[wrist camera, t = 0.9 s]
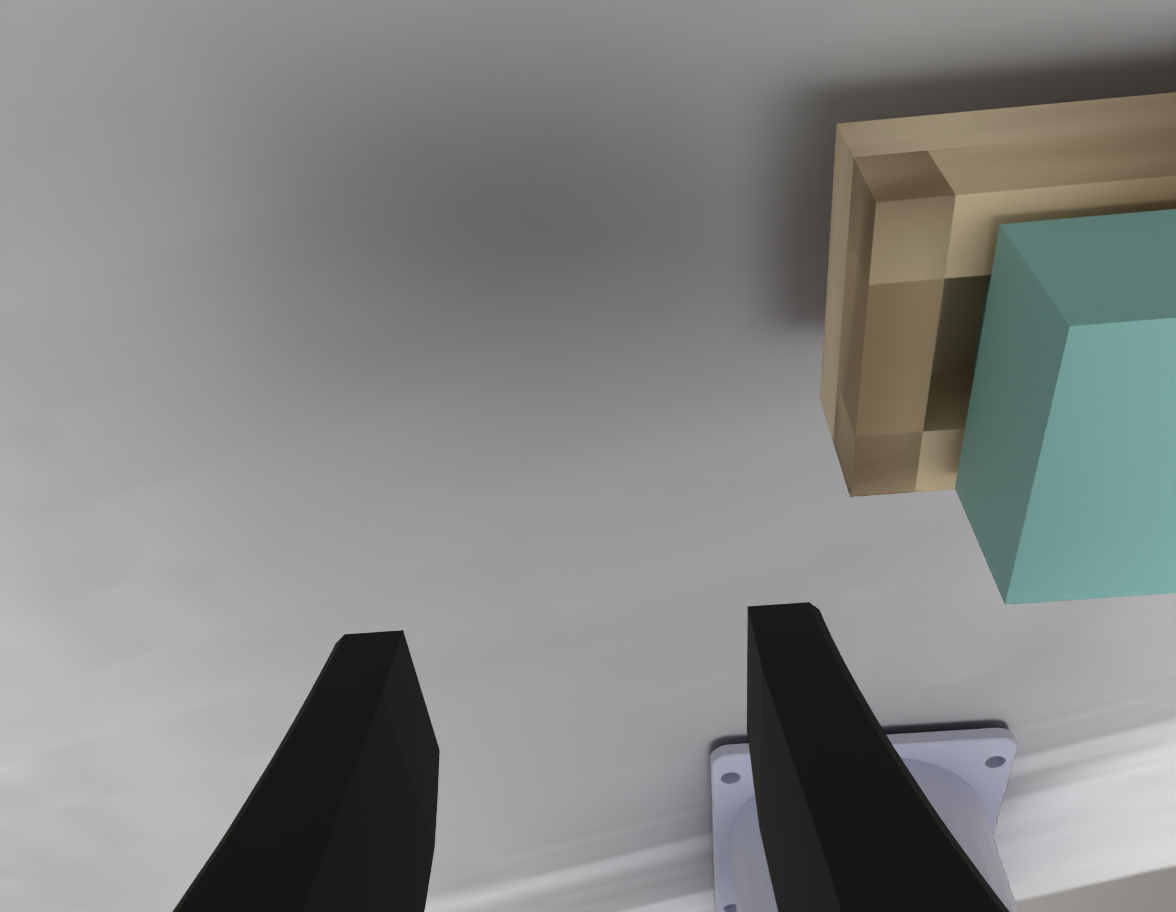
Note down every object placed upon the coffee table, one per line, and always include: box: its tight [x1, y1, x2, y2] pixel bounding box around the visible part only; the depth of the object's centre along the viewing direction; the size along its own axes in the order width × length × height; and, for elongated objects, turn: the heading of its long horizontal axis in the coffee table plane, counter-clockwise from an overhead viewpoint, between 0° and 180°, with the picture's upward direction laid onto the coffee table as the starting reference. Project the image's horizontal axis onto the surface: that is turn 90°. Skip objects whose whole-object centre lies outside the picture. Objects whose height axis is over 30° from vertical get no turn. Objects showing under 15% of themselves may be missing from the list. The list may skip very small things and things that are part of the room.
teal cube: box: [955, 209, 1176, 605], centre depth 14 cm, size 4×4×4 cm
